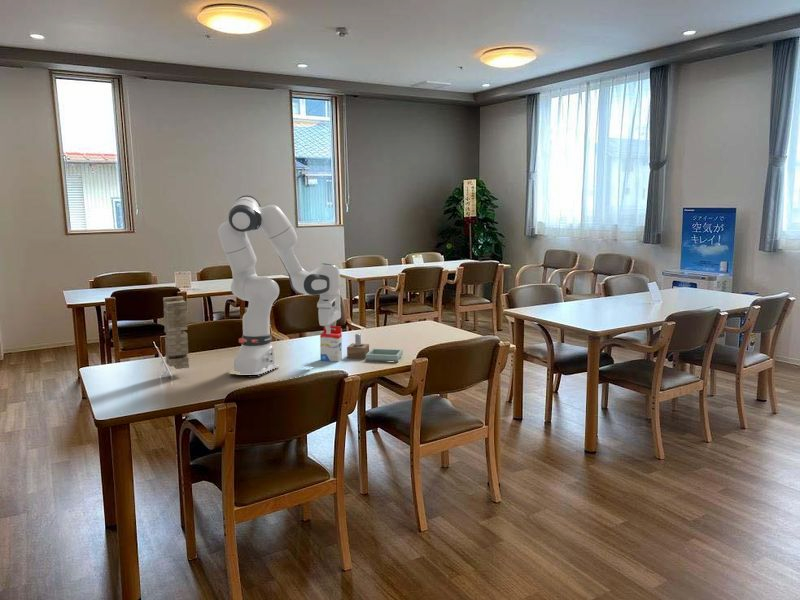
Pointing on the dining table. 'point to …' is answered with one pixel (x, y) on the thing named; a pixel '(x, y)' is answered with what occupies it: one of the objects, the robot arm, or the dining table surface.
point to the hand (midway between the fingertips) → (330, 332)
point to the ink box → (331, 344)
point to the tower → (176, 332)
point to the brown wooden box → (357, 351)
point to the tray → (384, 355)
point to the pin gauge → (358, 340)
